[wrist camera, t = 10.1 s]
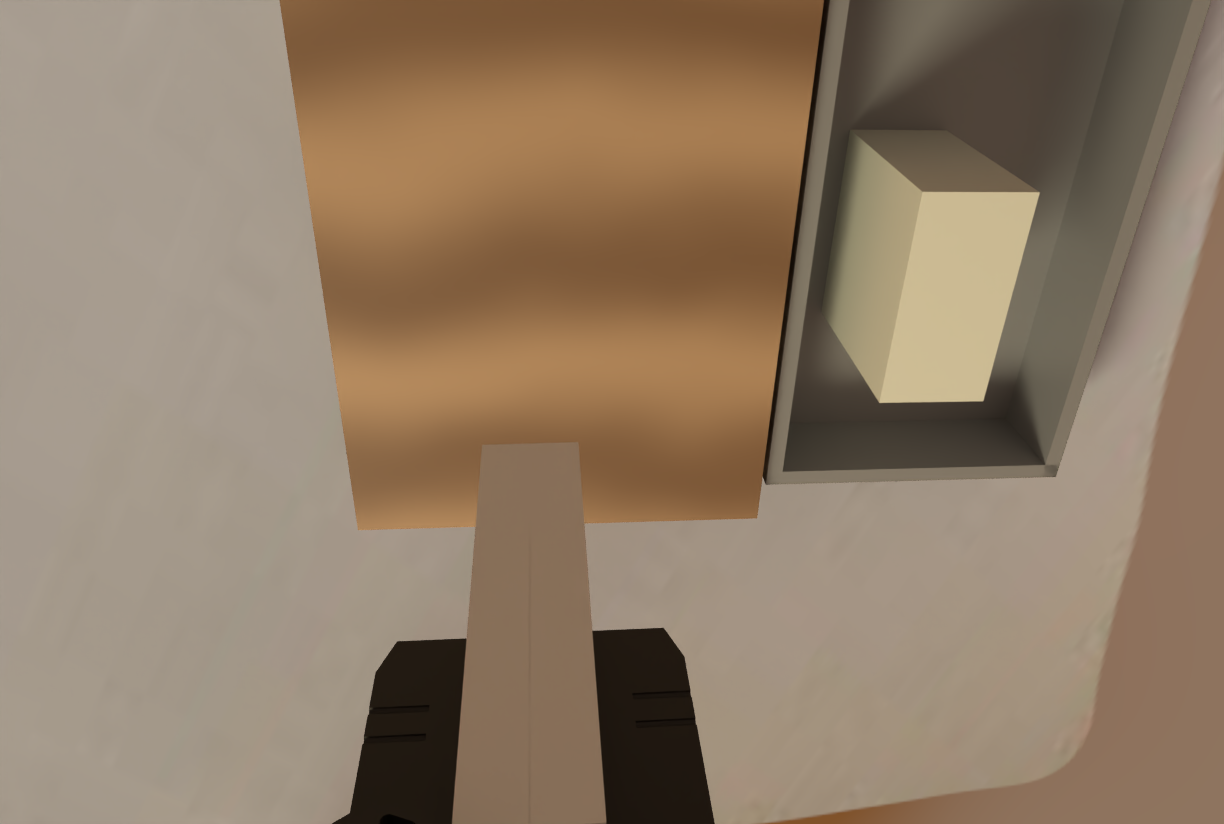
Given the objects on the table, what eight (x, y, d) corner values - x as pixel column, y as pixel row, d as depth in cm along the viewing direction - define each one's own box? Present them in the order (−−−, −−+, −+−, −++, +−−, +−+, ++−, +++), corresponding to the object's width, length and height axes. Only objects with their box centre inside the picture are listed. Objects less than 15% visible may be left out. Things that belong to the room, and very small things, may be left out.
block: (922, 191, 23) (1039, 192, 23) (850, 129, 28) (946, 130, 28) (879, 402, 26) (983, 401, 26) (821, 311, 31) (908, 311, 31)
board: (300, -120, 24) (262, -115, 21) (794, -107, 25) (837, -101, 22) (375, 460, 33) (358, 530, 30) (734, 451, 34) (756, 518, 31)
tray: (801, -66, 26) (837, -55, 23) (1147, -58, 26) (1226, -47, 23) (744, 428, 34) (766, 484, 31) (1009, 422, 35) (1055, 476, 32)
